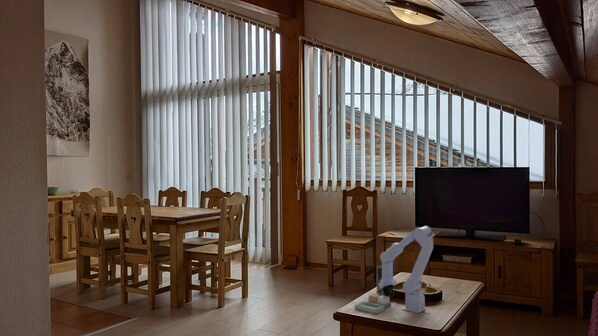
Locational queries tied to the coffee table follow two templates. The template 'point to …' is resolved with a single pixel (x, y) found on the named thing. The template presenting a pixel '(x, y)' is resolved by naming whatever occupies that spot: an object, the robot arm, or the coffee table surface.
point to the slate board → (377, 304)
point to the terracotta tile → (373, 297)
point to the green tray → (368, 308)
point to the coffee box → (379, 281)
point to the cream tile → (383, 299)
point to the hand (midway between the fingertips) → (387, 298)
